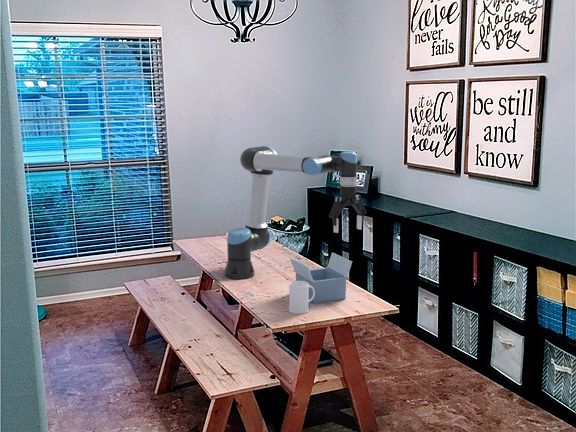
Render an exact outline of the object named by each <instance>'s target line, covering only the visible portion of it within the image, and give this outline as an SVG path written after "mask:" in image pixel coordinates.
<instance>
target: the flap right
mask: <svg viewBox="0 0 576 432" xmlns="http://www.w3.org/2000/svg"><path fill="white" fill-rule="evenodd" d="M352 263H353V261H352V260H349V259H347V258H345V257H343V256H341V255H339V254H336V253H335V252H331V255H330V257H329V261H328V264H327V266H326V268H328V269H330V270H332V271H334V272H336V273H338V274H340V275H342V276H344V277H346V278H348V275H349V274H350V270H351V268H352Z"/></svg>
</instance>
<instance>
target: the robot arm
mask: <svg viewBox="0 0 576 432" xmlns="http://www.w3.org/2000/svg"><path fill="white" fill-rule="evenodd" d="M239 161H240V164H241V166H242V167H243V169H244V170H246V171H247V172H249V173H250V174H251V175H252V179H251V181H252V183H251V193H250V203H249V217H248V220H247V222H245V227H238V228H233V229H231V230H229V231H228V232H227V239H226V241H227V262H226V265H225V268H224V277H225V278H227V279H232V280H243V279H244V280H246V279H250V278H253V277H255V269H254V266H253V262H252V257H251V256H252V253H253V252H255V251H258V250H262V249H264V248H265V247H268V245H269V244H270V243H271V240H272V233H271V231H270V229H269V224H267V222H266V219H267V207H268V197H269V188H270V187H269V186H270V178H271V177H272V176H273V175H274V171H276V172H277V171H278V172H286V173H287V172H289V173H299V174H306V175H308V176H315V175H320V174H325V173H339V174H340V175H339V176H340V178H339V184H340V187H339V193H340V197H339V196H335V197H334V202H333V203H332V204H333V205H332V206H331V209H330V212H329V214H328V217H329V218H331V219H332V226H333V233H334V234H335V233H336V234H338V233H339V218H338V217H339V216H340V214H342V211H343V209H344V208H346V207H349V206H350V207H351V206H352V207H353V209H354V210H355V212H356V213H357V215H356V230H362V226H363V221H364V217H365V215H366V214H367V212H368V211H367V210H366V207H365V205H364V202H363V199H362V195H361V194H357V182H358V181H357V180H358V179H357V177H358V176H357V175H358V174H357V172H358V169H357V168H358V167H357V166H358V156H357V153H356V152H354V151H342V152H340V154H339V155H328V154H324V155H323V154H322V155H319V156H317V157H315V156H313V157H311V156H300V155H286V154H285V155H284V154H278V153H277V152H276V150H275V149H274V148H273V147H271V146H268V145H267V146H266V145H262V146H256V147H252V146H251V147H248V148H246V149H245V150H243V151H242V153H241V154H240V158H239Z"/></svg>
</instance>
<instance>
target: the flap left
mask: <svg viewBox="0 0 576 432" xmlns="http://www.w3.org/2000/svg"><path fill="white" fill-rule="evenodd" d="M289 259H290V262H291V265H292V268H293V271H294V272H295V274H296V273H298V274H299V275H301V276H303V277H304V278H306V279H308V280H310V281H311V282H314V281H313V279H312V276H311V273H310V270H311V269H310V268H309V266H308V265H306V264H304V263H303V262H301V261H299V260H298V259H296V258H294V257H291V256H290V257H289Z"/></svg>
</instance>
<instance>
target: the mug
mask: <svg viewBox="0 0 576 432" xmlns="http://www.w3.org/2000/svg"><path fill="white" fill-rule="evenodd" d="M288 285H289V287H288V289H289V292H288V293H289V295H288V299H289V300H288V312H289V313H290V314H294V315H304V314H307V313H309V311H310V308H309V303H311V301H312V300H313V298H314V295H315V291H314V288H313V287H312V286H311V285H309V284H308V282H305V281H296V280H293V281H290V282H289V284H288ZM309 287H310V288H312V289H313V297H312V298H311V299H310V300H308V290H309Z"/></svg>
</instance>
